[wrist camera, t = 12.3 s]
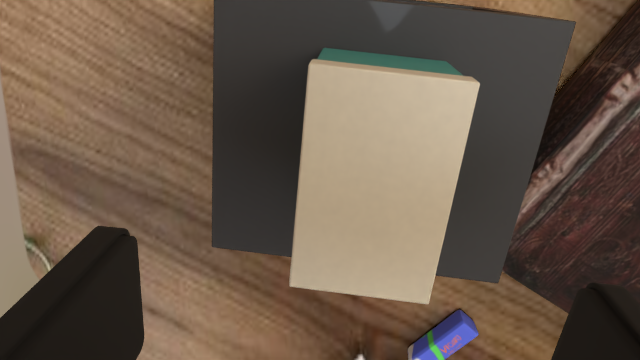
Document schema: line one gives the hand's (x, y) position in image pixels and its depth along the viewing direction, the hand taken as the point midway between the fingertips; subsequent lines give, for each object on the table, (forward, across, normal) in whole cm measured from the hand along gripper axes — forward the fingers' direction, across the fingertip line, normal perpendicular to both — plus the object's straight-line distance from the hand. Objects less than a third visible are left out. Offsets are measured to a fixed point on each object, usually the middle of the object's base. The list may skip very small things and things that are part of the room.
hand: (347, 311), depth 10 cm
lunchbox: (+11, -1, 0) cm, 11 cm away
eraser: (+24, -10, +20) cm, 33 cm away
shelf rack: (+24, -1, 0) cm, 24 cm away
